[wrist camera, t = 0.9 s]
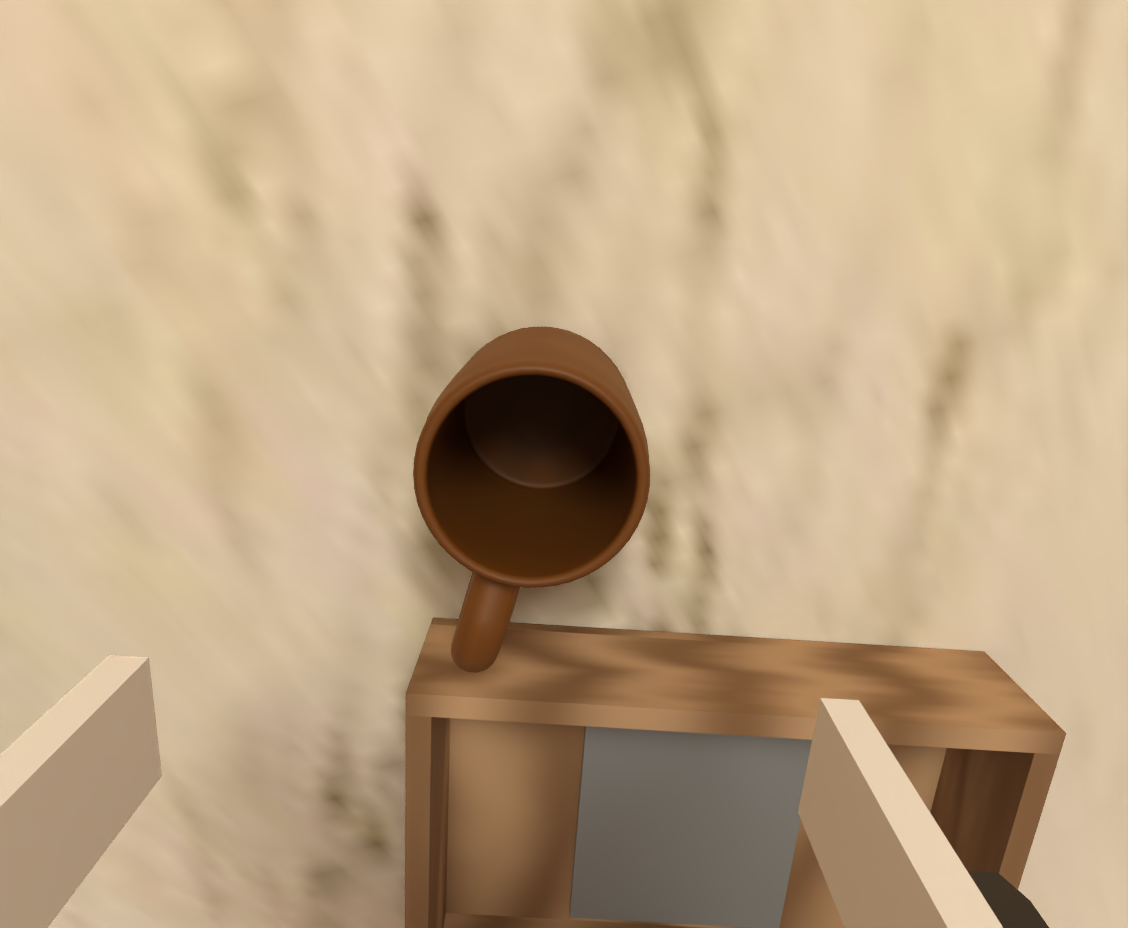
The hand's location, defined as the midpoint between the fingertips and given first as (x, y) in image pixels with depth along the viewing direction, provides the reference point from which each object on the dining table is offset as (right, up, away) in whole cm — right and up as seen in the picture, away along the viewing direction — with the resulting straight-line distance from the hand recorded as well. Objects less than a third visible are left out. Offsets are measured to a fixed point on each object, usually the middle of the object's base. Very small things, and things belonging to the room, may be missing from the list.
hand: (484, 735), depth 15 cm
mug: (0, +6, +18) cm, 19 cm away
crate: (+8, -11, +23) cm, 27 cm away
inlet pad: (+8, -11, +23) cm, 27 cm away
